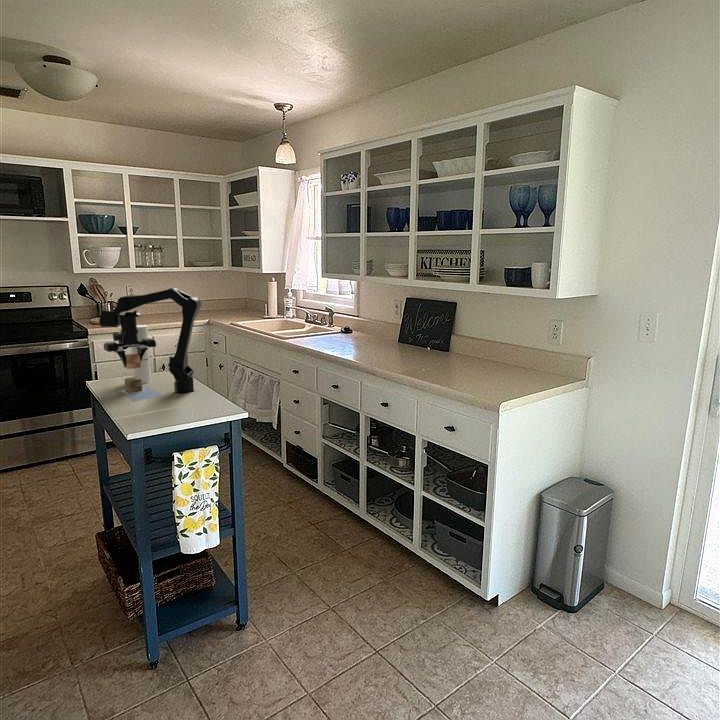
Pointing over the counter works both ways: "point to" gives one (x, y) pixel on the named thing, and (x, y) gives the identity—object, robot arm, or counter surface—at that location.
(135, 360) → the terracotta block
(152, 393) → the board
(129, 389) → the walnut block
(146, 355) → the cylindrical container
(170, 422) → the counter surface
